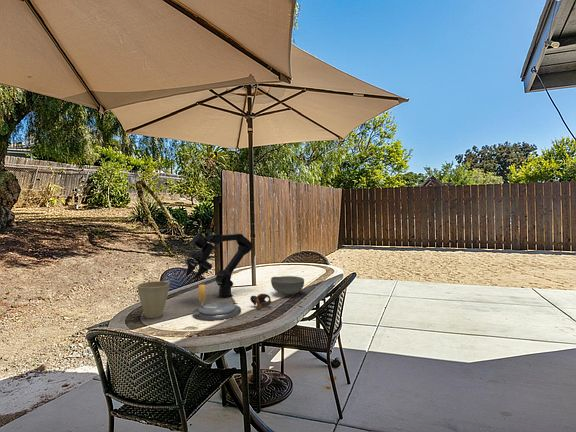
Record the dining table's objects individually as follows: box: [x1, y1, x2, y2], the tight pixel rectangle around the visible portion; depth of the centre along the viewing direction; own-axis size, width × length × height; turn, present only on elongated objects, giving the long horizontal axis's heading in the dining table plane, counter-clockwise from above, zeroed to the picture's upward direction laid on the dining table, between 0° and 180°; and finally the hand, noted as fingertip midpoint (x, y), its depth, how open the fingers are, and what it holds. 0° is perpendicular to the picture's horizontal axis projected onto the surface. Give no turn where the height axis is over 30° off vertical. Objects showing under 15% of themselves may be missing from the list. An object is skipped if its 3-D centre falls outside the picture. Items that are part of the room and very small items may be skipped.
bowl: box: [270, 275, 305, 296], centre depth 214 cm, size 20×20×10 cm
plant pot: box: [136, 280, 170, 319], centre depth 175 cm, size 15×15×16 cm
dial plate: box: [192, 304, 242, 322], centre depth 178 cm, size 24×24×2 cm
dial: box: [198, 284, 235, 316], centre depth 178 cm, size 19×18×12 cm
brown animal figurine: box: [250, 293, 272, 311], centre depth 187 cm, size 12×10×8 cm
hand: (190, 276), depth 194 cm, fingers open, 9 cm apart
